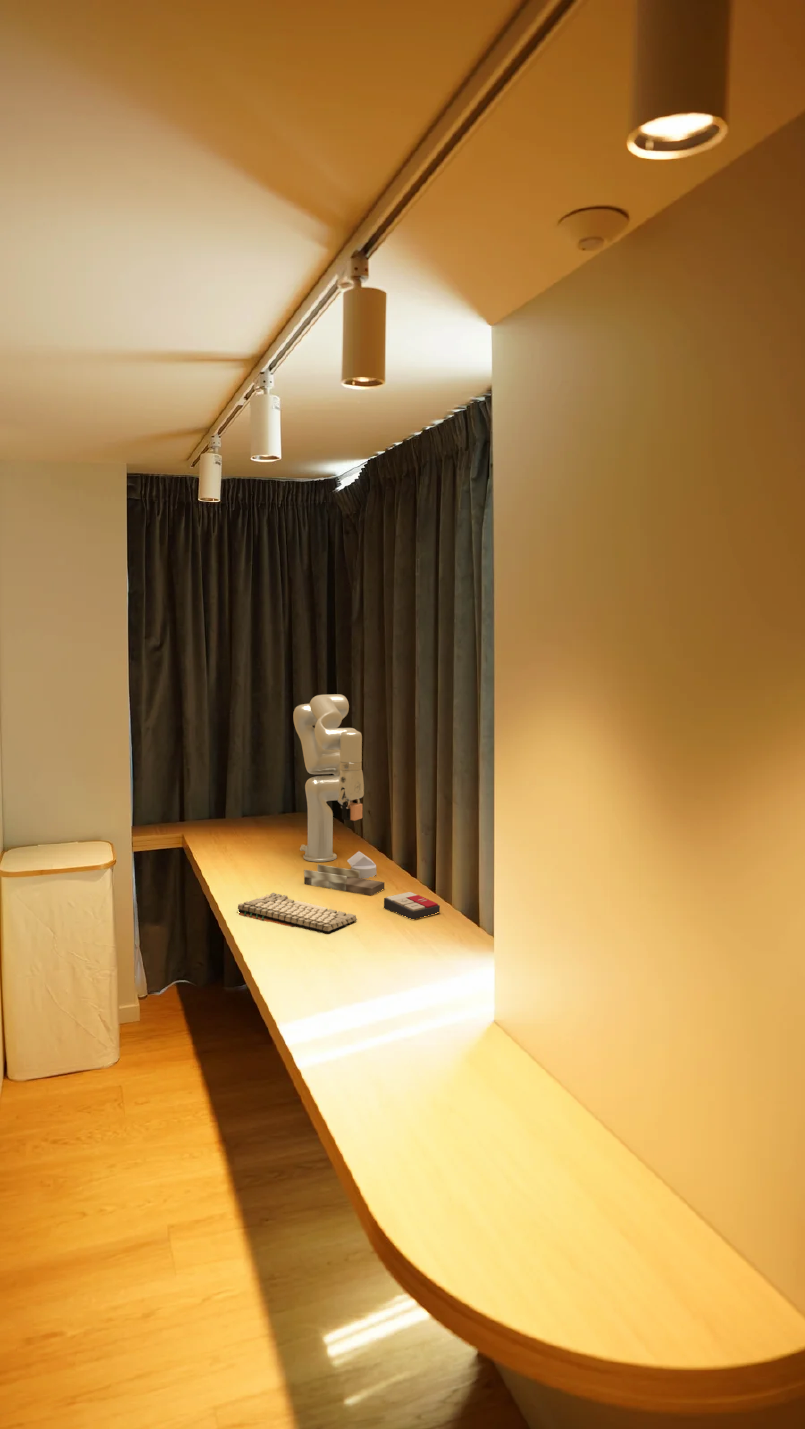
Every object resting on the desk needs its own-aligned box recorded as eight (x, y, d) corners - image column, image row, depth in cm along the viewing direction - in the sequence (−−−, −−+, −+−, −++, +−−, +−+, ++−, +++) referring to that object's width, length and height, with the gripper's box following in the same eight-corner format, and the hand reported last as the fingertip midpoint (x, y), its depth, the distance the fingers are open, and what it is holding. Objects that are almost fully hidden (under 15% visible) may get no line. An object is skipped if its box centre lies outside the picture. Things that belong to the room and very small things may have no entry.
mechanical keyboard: (364, 920, 296) (364, 910, 296) (326, 938, 280) (326, 927, 280) (270, 900, 316) (270, 890, 316) (230, 915, 300) (230, 905, 300)
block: (342, 818, 335) (342, 804, 335) (350, 816, 339) (350, 802, 339) (354, 820, 333) (355, 806, 332) (362, 817, 337) (362, 803, 336)
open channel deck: (304, 883, 333) (304, 869, 333) (318, 878, 341) (318, 864, 340) (371, 895, 320) (371, 880, 320) (384, 889, 328) (384, 875, 327)
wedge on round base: (346, 869, 353) (354, 879, 340) (346, 851, 352) (354, 860, 340) (370, 868, 355) (378, 877, 343) (371, 850, 355) (379, 859, 342)
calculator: (413, 909, 295) (383, 895, 307) (412, 923, 296) (383, 908, 307) (440, 903, 302) (410, 889, 313) (439, 916, 302) (410, 902, 314)
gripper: (346, 770, 325) (346, 823, 327) (372, 764, 340) (372, 815, 342) (328, 768, 329) (328, 821, 331) (354, 762, 344) (354, 812, 346)
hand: (350, 817), depth 336 cm, fingers closed on block, 5 cm apart
